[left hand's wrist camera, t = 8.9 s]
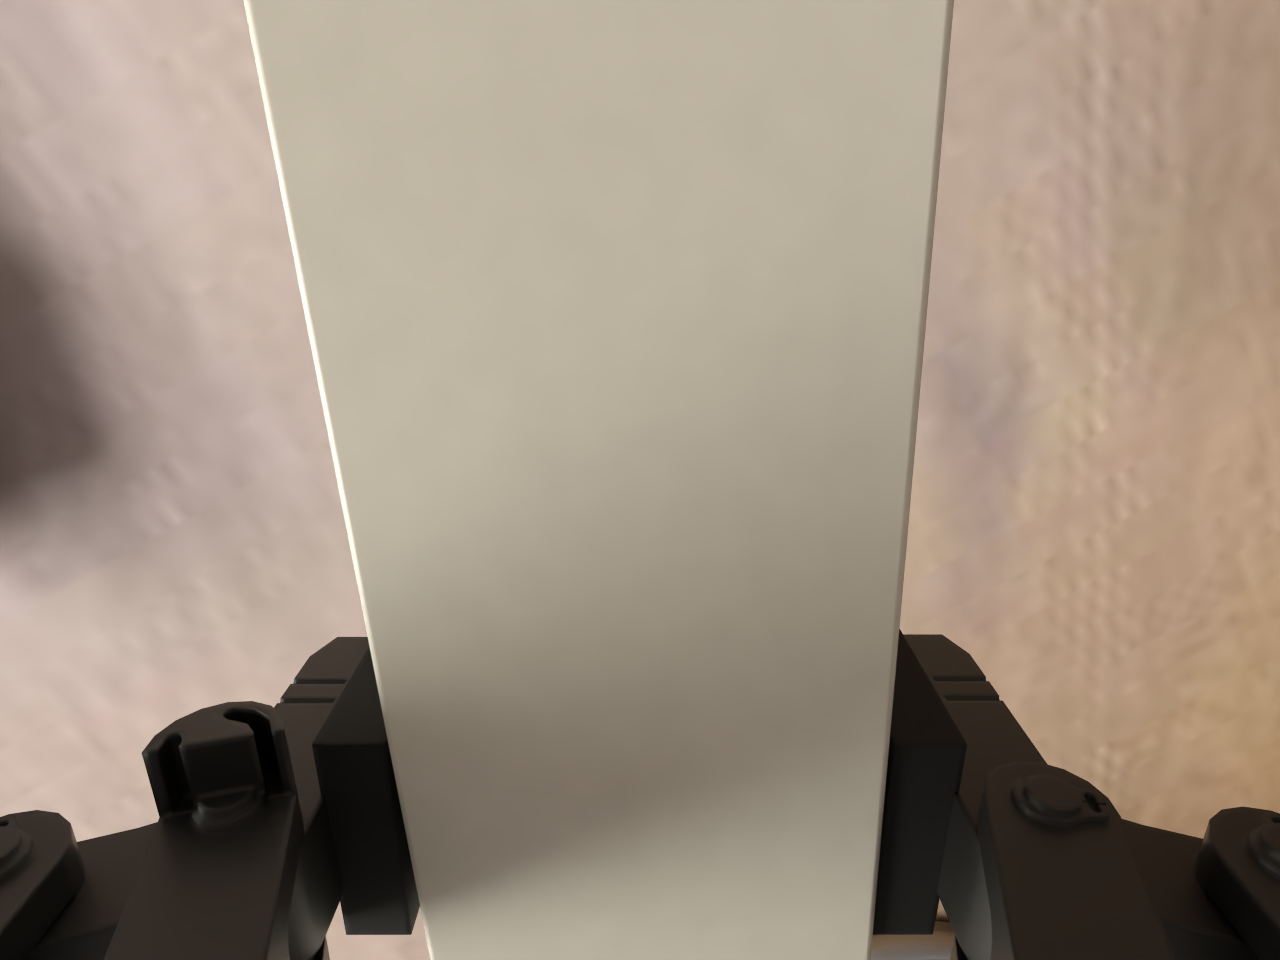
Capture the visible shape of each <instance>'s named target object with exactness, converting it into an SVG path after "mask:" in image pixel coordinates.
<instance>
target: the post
mask: <svg viewBox="0 0 1280 960" xmlns="http://www.w3.org/2000/svg"><path fill="white" fill-rule="evenodd" d="M244 5H245V10H246V15H247V21H248V26H249V31H250V36H251V41H252V46H253V51H254V56H255V62H256V67H257V72H258V77H259V82H260V87H261V92H262V97H263V103H264V108H265V113H266V118H267V123H268V128H269V133H270V139H271V144H272V149H273V154H274V159H275V164H276V169H277V174H278V180H279V185H280V190H281V195H282V200H283V205H284V210H285V215H286V221H287V226H288V231H289V236H290V241H291V246H292V251H293V257H294V262H295V267H296V272H297V277H298V282H299V287H300V292H301V298H302V303H303V308H304V313H305V318H306V323H307V328H308V333H309V339H310V344H311V349H312V354H313V359H314V364H315V369H316V375H317V380H318V385H319V390H320V395H321V400H322V405H323V410H324V416H325V421H326V426H327V431H328V436H329V441H330V446H331V451H332V457H333V462H334V467H335V472H336V477H337V482H338V487H339V493H340V498H341V503H342V508H343V513H344V518H345V523H346V528H347V534H348V539H349V544H350V549H351V554H352V559H353V564H354V569H355V575H356V580H357V585H358V590H359V595H360V600H361V605H362V610H363V616H364V621H365V626H366V631H367V636H368V641H369V646H370V652H371V657H372V662H373V667H374V672H375V677H376V682H377V687H378V693H379V698H380V703H381V708H382V713H383V718H384V723H385V728H386V734H387V739H388V744H389V749H390V754H391V759H392V764H393V770H394V775H395V780H396V785H397V790H398V795H399V800H400V805H401V811H402V816H403V821H404V826H405V831H406V836H407V841H408V846H409V852H410V857H411V862H412V867H413V872H414V877H415V882H416V888H417V893H418V898H419V903H420V908H421V913H422V918H423V923H424V929H425V934H426V939H427V944H428V949H429V954H430V959H431V960H871V948H872V937H873V925H874V914H875V902H876V891H877V879H878V868H879V856H880V845H881V833H882V822H883V810H884V799H885V787H886V776H887V764H888V753H889V741H890V730H891V718H892V707H893V695H894V684H895V672H896V661H897V649H898V638H899V626H900V615H901V603H902V592H903V580H904V569H905V557H906V546H907V534H908V523H909V511H910V500H911V488H912V477H913V465H914V454H915V442H916V431H917V419H918V408H919V396H920V385H921V373H922V362H923V350H924V339H925V327H926V316H927V304H928V293H929V281H930V270H931V258H932V247H933V235H934V224H935V212H936V201H937V189H938V178H939V166H940V155H941V143H942V132H943V120H944V109H945V97H946V86H947V74H948V63H949V51H950V40H951V28H952V17H953V5H954V0H244Z"/></svg>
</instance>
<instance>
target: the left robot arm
mask: <svg viewBox="0 0 1280 960" xmlns="http://www.w3.org/2000/svg"><path fill="white" fill-rule="evenodd" d="M142 755H143V759H144V762H145V766H146V770H147V773H148V777H149V780H150V784H151V788H152V791H153V795H154V798H155V802H156V806H157V809H158V813H159V816H160V818H159V821H158V822H157V823H153V824H150V825H147V826H143V827H140V828H136V829H132V830H128V831H123V832H119V833H115V834H110V835H106V836H102V837H97V838H93V839H89V840H84V841H80V842H76V839H75V836H74V833H73V830H72V827H71V824H70V822H68V821H67V820H66V819H65V818H64V817H62V816H61V815H60V814H59V813H54V812H47V811H40V810H34V811H28V812H21V813H14V814H8V815H6V816H3V817H0V960H330V958H329V951H328V946H327V941H326V936H325V935H326V933H327V930H328V928H329V926H330V923H331V921H332V919H333V916H334V914H335V911H336V909H337V907H338V904H339V902H341V908H342V913H343V919H344V924H345V930H346V935H411V933H412V930H413V927H414V924H415V920H416V917H417V914H418V910H419V907H420V903H419V898H418V893H417V888H416V882H415V877H414V872H413V867H412V862H411V857H410V852H409V846H408V841H407V836H406V831H405V826H404V821H403V816H402V811H401V805H400V800H399V795H398V790H397V785H396V780H395V775H394V770H393V764H392V759H391V754H390V749H389V744H388V739H387V734H386V728H385V723H384V718H383V713H382V708H381V703H380V698H379V693H378V687H377V682H376V677H375V672H374V667H373V662H372V657H371V652H370V646H369V641H368V637H337V638H335V639H334V640H333V641H331V642H330V643H328V644H327V645H326V646H324V647H323V648H321V649H320V650H319V651H317V652H316V653H314V654H313V655H312V656H310V657H309V659H308V660H307V661H306V663H305V664H304V666H303V667H302V669H301V670H300V672H299V673H298V674H297V676H296V677H295V679H294V684H290V686H289V687H288V689H287V690H286V692H285V693H284V694H283V696H282V697H281V702H280V703H277V704H276V706H275V707H274V708H273V707H272V706H270V705H266V704H262V703H257V702H253V701H247V702H227V703H223V704H219V705H215V706H211V707H207V708H203V709H200V710H198V711H196V712H194V713H191V714H189V715H187V716H185V717H183V718H180V719H178V720H176V721H175V722H173V723H172V724H170V725H169V726H168V727H166V728H165V729H164V730H162V731H161V732H159V733H158V734H157V735H155V736H154V738H153V739H152V740H151V741H150V743H149V744H148V745H147V747H146V748H145V749H144V751H143V752H142ZM939 898H940V900H941V902H942V905H943V907H944V909H945V912H946V914H947V916H948V919H949V921H950V922H943V921H935V920H936V915H937V909H938V904H939ZM871 960H1280V814H1279V813H1276V812H1273V811H1269V810H1262V809H1256V808H1249V807H1237V808H1230V809H1223V810H1221V811H1220V812H1218V813H1217V814H1216V815H1215V816H1214V817H1212V818H1211V819H1210V821H1209V824H1208V827H1207V830H1206V833H1205V836H1204V839H1201V838H1197V837H1193V836H1188V835H1184V834H1179V833H1175V832H1171V831H1166V830H1162V829H1158V828H1153V827H1149V826H1145V825H1141V824H1137V823H1134V822H1131V821H1127V820H1124V819H1121V817H1120V815H1119V814H1118V812H1117V811H1116V809H1115V808H1114V806H1113V805H1112V803H1111V802H1110V800H1109V799H1108V798H1107V797H1106V796H1105V795H1104V794H1103V793H1101V792H1100V791H1099V790H1098V789H1096V788H1095V787H1094V786H1093V785H1092V784H1090V783H1089V782H1088V781H1086V780H1084V779H1082V778H1080V777H1078V776H1076V775H1074V774H1072V773H1070V772H1068V771H1066V770H1064V769H1061V768H1057V767H1054V766H1050V765H1047V763H1046V762H1045V760H1044V759H1043V758H1042V756H1041V755H1040V753H1039V752H1038V750H1037V749H1036V748H1035V746H1034V745H1033V743H1032V742H1031V740H1030V739H1029V738H1028V736H1027V735H1026V733H1025V732H1024V731H1023V729H1022V728H1021V726H1020V725H1019V723H1018V722H1017V721H1016V719H1015V718H1014V716H1013V715H1012V714H1011V712H1010V711H1009V709H1008V708H1007V706H1006V705H1005V704H1004V702H1003V701H1000V700H999V695H998V694H997V692H996V691H995V689H994V688H993V687H992V685H991V684H990V682H989V681H986V677H985V675H984V674H983V672H982V671H981V670H980V668H979V667H978V665H977V664H976V662H975V661H974V660H973V658H972V657H971V655H970V654H969V653H967V652H966V651H965V650H963V649H962V648H960V647H959V646H957V645H956V644H955V643H953V642H952V641H950V640H949V639H948V638H946V637H945V636H943V635H903V634H902V632H901V630H900V629H899V638H898V649H897V661H896V672H895V684H894V695H893V707H892V718H891V730H890V741H889V753H888V764H887V776H886V787H885V799H884V810H883V822H882V833H881V845H880V856H879V868H878V879H877V891H876V902H875V914H874V925H873V937H872V948H871Z"/></svg>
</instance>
